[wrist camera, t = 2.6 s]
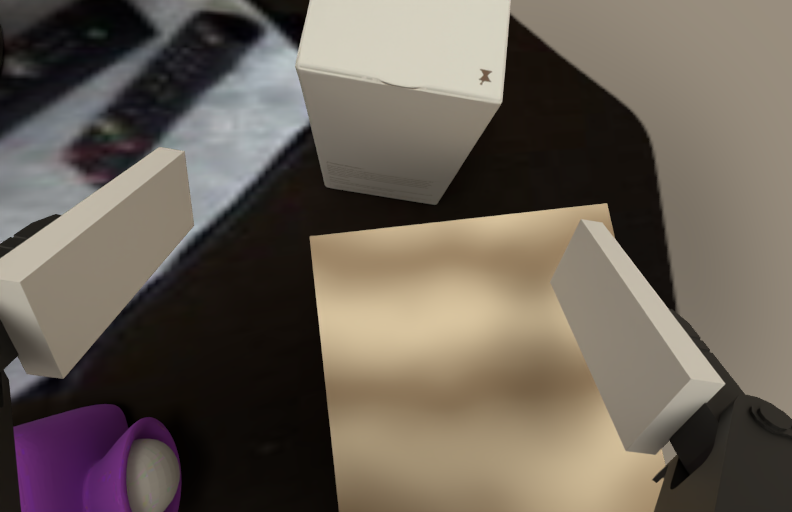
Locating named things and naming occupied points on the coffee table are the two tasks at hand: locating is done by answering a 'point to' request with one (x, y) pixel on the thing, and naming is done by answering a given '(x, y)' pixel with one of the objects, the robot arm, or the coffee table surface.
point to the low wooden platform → (466, 373)
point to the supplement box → (400, 89)
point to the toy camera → (97, 463)
